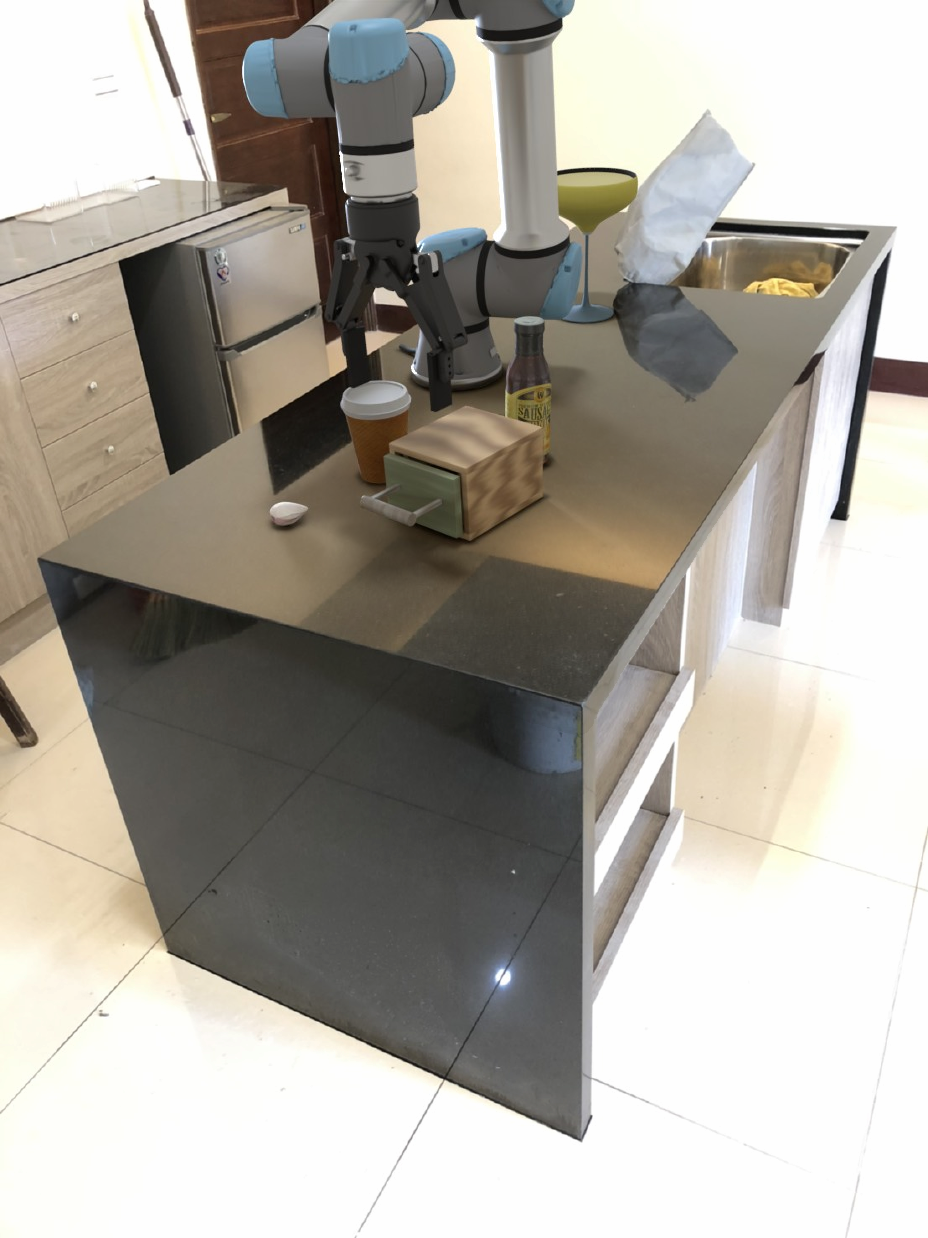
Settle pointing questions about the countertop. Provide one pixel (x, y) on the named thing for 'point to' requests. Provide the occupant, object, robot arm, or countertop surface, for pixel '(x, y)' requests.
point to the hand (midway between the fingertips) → (399, 395)
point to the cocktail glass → (593, 216)
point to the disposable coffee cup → (375, 423)
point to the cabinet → (482, 462)
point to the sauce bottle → (529, 379)
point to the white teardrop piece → (287, 513)
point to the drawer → (420, 495)
